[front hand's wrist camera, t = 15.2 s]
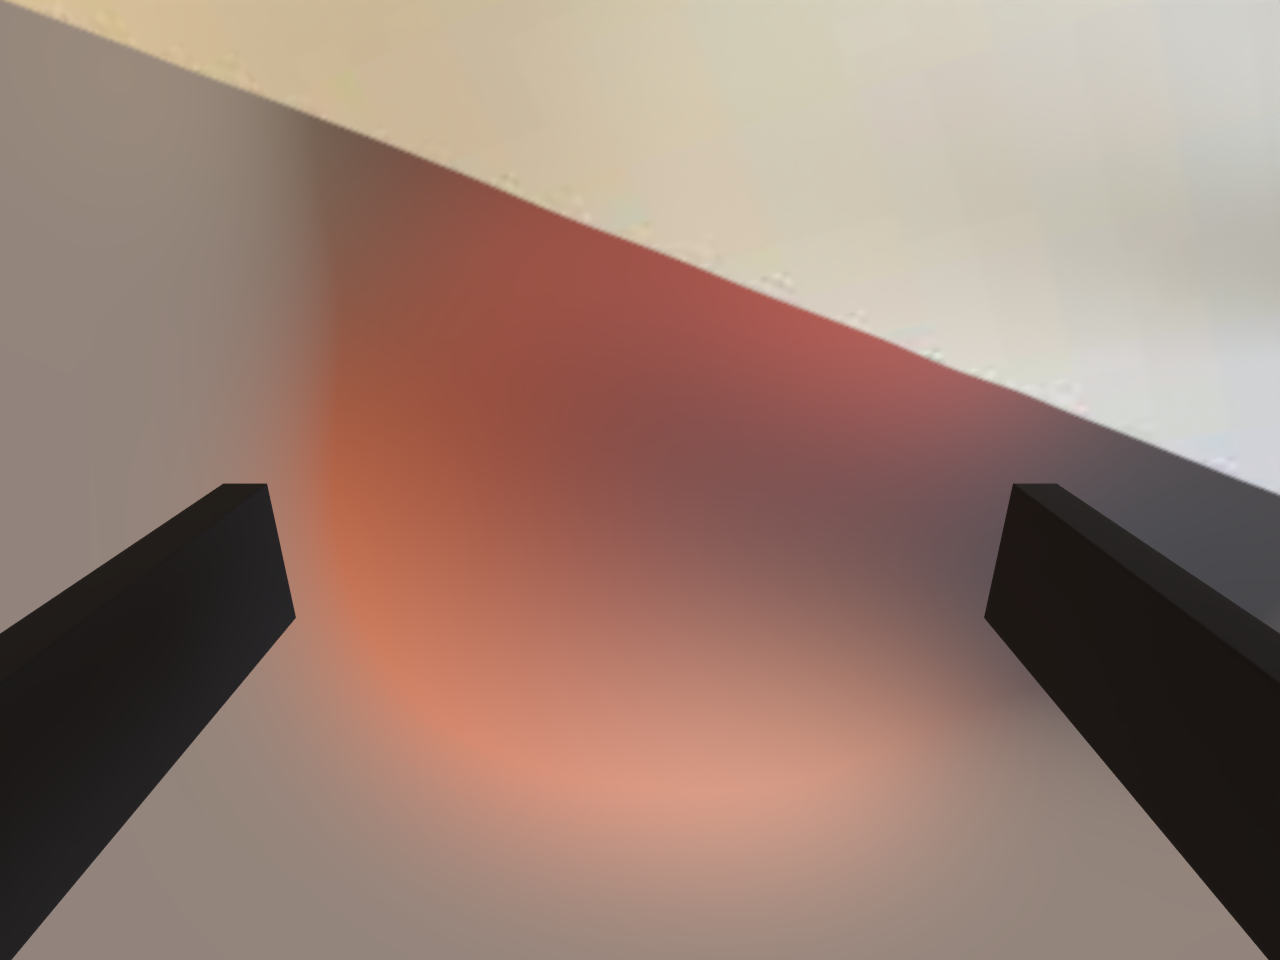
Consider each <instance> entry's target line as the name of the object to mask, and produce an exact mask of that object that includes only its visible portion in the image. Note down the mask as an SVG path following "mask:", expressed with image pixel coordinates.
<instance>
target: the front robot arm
mask: <svg viewBox="0 0 1280 960" xmlns="http://www.w3.org/2000/svg"><path fill="white" fill-rule="evenodd" d="M295 618H296V616H295V612H294V607H293V602H292V598H291V593H290V588H289V584H288V579H287V575H286V570H285V565H284V561H283V556H282V551H281V547H280V542H279V538H278V533H277V528H276V524H275V519H274V514H273V509H272V505H271V500H270V496H269V491H268V486H267V484H222V485H221V486H219V487H218V488H216V489H215V490H213V491H212V492H210V493H209V494H207V495H206V496H204V497H203V498H201V499H200V500H198V501H197V502H195V503H194V504H192V505H191V506H189V507H188V508H186V509H185V510H183V511H182V512H181V513H179V514H178V515H176V516H175V517H173V518H172V519H170V520H169V521H167V522H166V523H164V524H163V525H161V526H160V527H158V528H157V529H155V530H154V531H152V532H151V533H149V534H148V535H146V536H145V537H143V538H142V539H140V540H139V541H137V542H136V543H134V544H133V545H131V546H130V547H128V548H127V549H125V550H124V551H123V552H121V553H120V554H118V555H117V556H115V557H114V558H112V559H111V560H109V561H108V562H106V563H105V564H103V565H102V566H100V567H99V568H97V569H96V570H94V571H93V572H91V573H90V574H88V575H87V576H85V577H84V578H82V579H81V580H79V581H78V582H76V583H75V584H73V585H72V586H70V587H69V588H67V589H66V590H64V591H63V592H62V593H60V594H59V595H57V596H56V597H54V598H53V599H51V600H50V601H48V602H47V603H45V604H44V605H42V606H41V607H39V608H38V609H36V610H35V611H33V612H32V613H30V614H29V615H27V616H26V617H24V618H23V619H21V620H20V621H18V622H17V623H15V624H14V625H12V626H11V627H9V628H8V629H7V630H5V631H4V632H2V633H0V960H12V958H13V957H14V956H15V955H16V954H17V952H18V951H19V950H20V949H21V948H22V946H23V945H24V944H25V943H26V942H27V940H28V939H29V938H30V937H31V936H32V934H33V933H34V932H35V931H36V930H37V928H38V927H39V926H40V925H41V924H42V922H43V921H44V920H45V919H46V918H47V916H48V915H49V914H50V913H51V912H52V910H53V909H54V908H55V907H56V906H57V904H58V903H59V902H60V901H61V900H62V898H63V897H64V896H65V895H66V893H67V892H68V891H69V890H70V889H71V887H72V886H73V885H74V884H75V883H76V881H77V880H78V879H79V878H80V877H81V875H82V874H83V873H84V872H85V871H86V869H87V868H88V867H89V866H90V865H91V863H92V862H93V861H94V860H95V859H96V857H97V856H98V855H99V854H100V853H101V851H102V850H103V849H104V848H105V847H106V845H107V844H108V843H109V842H110V841H111V839H112V838H113V837H114V836H115V835H116V833H117V832H118V831H119V830H120V829H121V827H122V826H123V825H124V824H125V823H126V821H127V820H128V819H129V818H130V817H131V815H132V814H133V813H134V812H135V811H136V809H137V808H138V807H139V806H140V805H141V803H142V802H143V801H144V800H145V798H146V797H147V796H148V795H149V794H150V792H151V791H152V790H153V789H154V788H155V786H156V785H157V784H158V783H159V782H160V780H161V779H162V778H163V777H164V776H165V774H166V773H167V772H168V771H169V770H170V768H171V767H172V766H173V765H174V764H175V762H176V761H177V760H178V759H179V758H180V756H181V755H182V754H183V753H184V752H185V750H186V749H187V748H188V747H189V746H190V744H191V743H192V742H193V741H194V740H195V738H196V737H197V736H198V735H199V733H200V732H201V731H202V730H203V729H204V728H205V726H206V725H207V724H208V723H209V721H210V720H211V719H212V718H213V717H214V715H215V714H216V713H217V712H218V711H219V709H220V708H221V707H222V706H223V705H224V703H225V702H226V701H227V700H228V699H229V697H230V696H231V695H232V694H233V693H234V691H235V690H236V689H237V688H238V687H239V685H240V684H241V683H242V682H243V681H244V679H245V678H246V677H247V676H248V675H249V673H250V672H251V671H252V670H253V669H254V667H255V666H256V665H257V664H258V663H259V661H260V660H261V659H262V658H263V657H264V655H265V654H266V653H267V652H268V651H269V649H270V648H271V647H272V646H273V645H274V643H275V642H276V641H277V640H278V638H279V637H280V636H281V635H282V634H283V633H284V631H285V630H286V629H287V628H288V626H289V625H290V624H291V623H292V622H293V620H294V619H295ZM984 618H985V619H986V620H987V622H988V623H989V624H990V625H991V626H992V628H993V629H994V630H995V631H996V632H997V634H998V635H999V636H1000V637H1001V639H1002V640H1003V641H1004V642H1005V643H1006V645H1007V646H1008V647H1009V648H1010V649H1011V651H1012V652H1013V653H1014V654H1015V655H1016V657H1017V658H1018V659H1019V660H1020V661H1021V663H1022V664H1023V665H1024V666H1025V667H1026V669H1027V670H1028V671H1029V672H1030V673H1031V675H1032V676H1033V677H1034V678H1035V679H1036V681H1037V682H1038V683H1039V684H1040V685H1041V687H1042V688H1043V689H1044V690H1045V691H1046V693H1047V694H1048V695H1049V696H1050V697H1051V699H1052V700H1053V701H1054V702H1055V703H1056V705H1057V706H1058V707H1059V708H1060V709H1061V711H1062V712H1063V713H1064V714H1065V715H1066V717H1067V718H1068V719H1069V720H1070V722H1071V723H1072V724H1073V725H1074V726H1075V728H1076V729H1077V730H1078V731H1079V732H1080V733H1081V735H1082V736H1083V737H1084V738H1085V740H1086V741H1087V742H1088V743H1089V744H1090V746H1091V747H1092V748H1093V749H1094V750H1095V752H1096V753H1097V754H1098V755H1099V756H1100V758H1101V759H1102V760H1103V761H1104V762H1105V764H1106V765H1107V766H1108V767H1109V768H1110V770H1111V771H1112V772H1113V773H1114V774H1115V776H1116V777H1117V778H1118V779H1119V780H1120V782H1121V783H1122V784H1123V785H1124V786H1125V788H1126V789H1127V790H1128V791H1129V792H1130V794H1131V795H1132V796H1133V797H1134V798H1135V800H1136V801H1137V802H1138V803H1139V804H1140V806H1141V807H1142V808H1143V809H1144V811H1145V812H1146V813H1147V814H1148V815H1149V817H1150V818H1151V819H1152V820H1153V821H1154V823H1155V824H1156V825H1157V826H1158V827H1159V829H1160V830H1161V831H1162V832H1163V833H1164V835H1165V836H1166V837H1167V838H1168V839H1169V841H1170V842H1171V843H1172V844H1173V845H1174V847H1175V848H1176V849H1177V850H1178V851H1179V853H1180V854H1181V855H1182V856H1183V857H1184V859H1185V860H1186V861H1187V862H1188V863H1189V865H1190V866H1191V867H1192V868H1193V869H1194V871H1195V872H1196V873H1197V874H1198V875H1199V877H1200V878H1201V879H1202V880H1203V881H1204V883H1205V884H1206V885H1207V886H1208V888H1209V889H1210V890H1211V891H1212V892H1213V894H1214V895H1215V896H1216V897H1217V898H1218V900H1219V901H1220V902H1221V903H1222V904H1223V906H1224V907H1225V908H1226V909H1227V910H1228V912H1229V913H1230V914H1231V915H1232V916H1233V918H1234V919H1235V920H1236V921H1237V922H1238V924H1239V925H1240V926H1241V927H1242V928H1243V930H1244V931H1245V932H1246V933H1247V934H1248V936H1249V937H1250V938H1251V939H1252V940H1253V942H1254V943H1255V944H1256V945H1257V946H1258V948H1259V949H1260V950H1261V951H1262V952H1263V954H1264V955H1265V956H1266V957H1267V958H1268V960H1280V633H1279V632H1277V631H1275V630H1273V629H1272V628H1271V627H1269V626H1268V625H1266V624H1265V623H1263V622H1262V621H1260V620H1259V619H1257V618H1256V617H1254V616H1253V615H1251V614H1250V613H1248V612H1247V611H1245V610H1244V609H1242V608H1241V607H1239V606H1238V605H1236V604H1235V603H1233V602H1232V601H1230V600H1229V599H1227V598H1226V597H1224V596H1223V595H1221V594H1220V593H1219V592H1217V591H1215V590H1214V589H1213V588H1211V587H1210V586H1208V585H1207V584H1205V583H1204V582H1202V581H1201V580H1199V579H1198V578H1196V577H1195V576H1193V575H1192V574H1190V573H1189V572H1187V571H1186V570H1184V569H1183V568H1181V567H1180V566H1178V565H1177V564H1175V563H1174V562H1172V561H1171V560H1169V559H1168V558H1166V557H1165V556H1163V555H1162V554H1160V553H1159V552H1157V551H1156V550H1155V549H1153V548H1152V547H1150V546H1149V545H1147V544H1146V543H1144V542H1143V541H1141V540H1140V539H1138V538H1137V537H1135V536H1134V535H1132V534H1131V533H1129V532H1128V531H1126V530H1125V529H1123V528H1122V527H1120V526H1119V525H1117V524H1116V523H1114V522H1113V521H1111V520H1110V519H1108V518H1107V517H1105V516H1104V515H1102V514H1101V513H1099V512H1098V511H1097V510H1095V509H1094V508H1092V507H1091V506H1089V505H1088V504H1086V503H1085V502H1083V501H1082V500H1080V499H1079V498H1077V497H1076V496H1074V495H1073V494H1071V493H1070V492H1068V491H1067V490H1065V489H1064V488H1062V487H1061V486H1059V485H1058V484H1013V486H1012V491H1011V496H1010V500H1009V505H1008V509H1007V514H1006V519H1005V523H1004V528H1003V533H1002V537H1001V542H1000V547H999V551H998V556H997V561H996V565H995V570H994V574H993V579H992V584H991V588H990V593H989V598H988V602H987V607H986V612H985V616H984Z"/></svg>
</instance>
